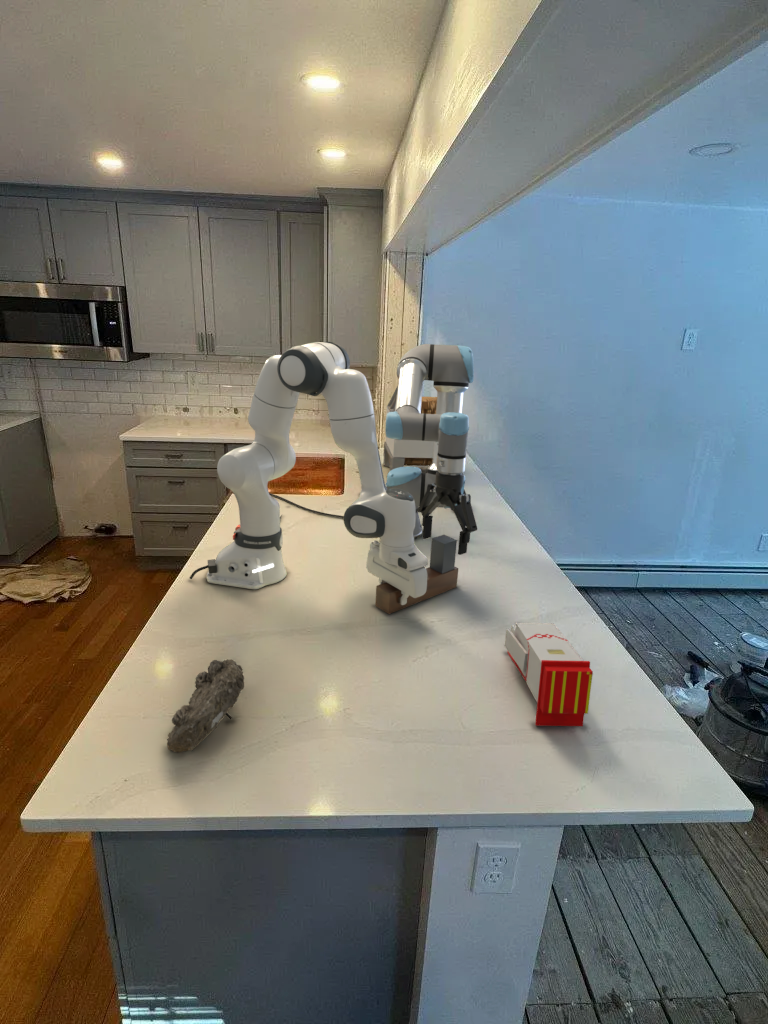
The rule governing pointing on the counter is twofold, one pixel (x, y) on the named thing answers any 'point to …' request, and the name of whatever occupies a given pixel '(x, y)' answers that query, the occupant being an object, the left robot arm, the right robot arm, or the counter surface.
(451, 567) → the grey block
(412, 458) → the white wooden box
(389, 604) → the walnut rail
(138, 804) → the counter surface
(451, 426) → the right robot arm
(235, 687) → the fossil
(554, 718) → the toy
